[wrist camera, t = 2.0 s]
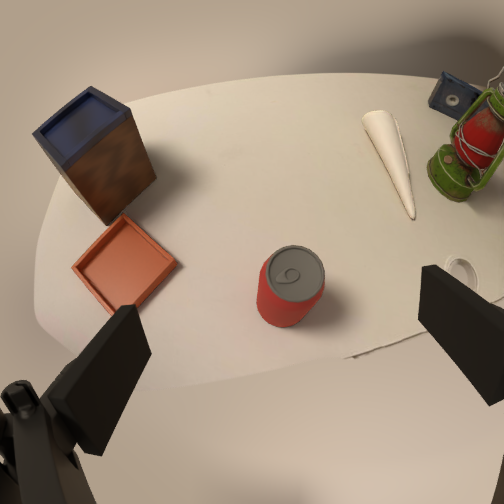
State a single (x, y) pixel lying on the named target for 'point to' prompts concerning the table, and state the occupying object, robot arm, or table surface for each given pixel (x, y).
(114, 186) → the navy stand
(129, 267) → the terracotta tray
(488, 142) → the lantern
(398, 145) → the long cone
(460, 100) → the vhs cassette tape
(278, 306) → the beer can
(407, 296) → the table surface
